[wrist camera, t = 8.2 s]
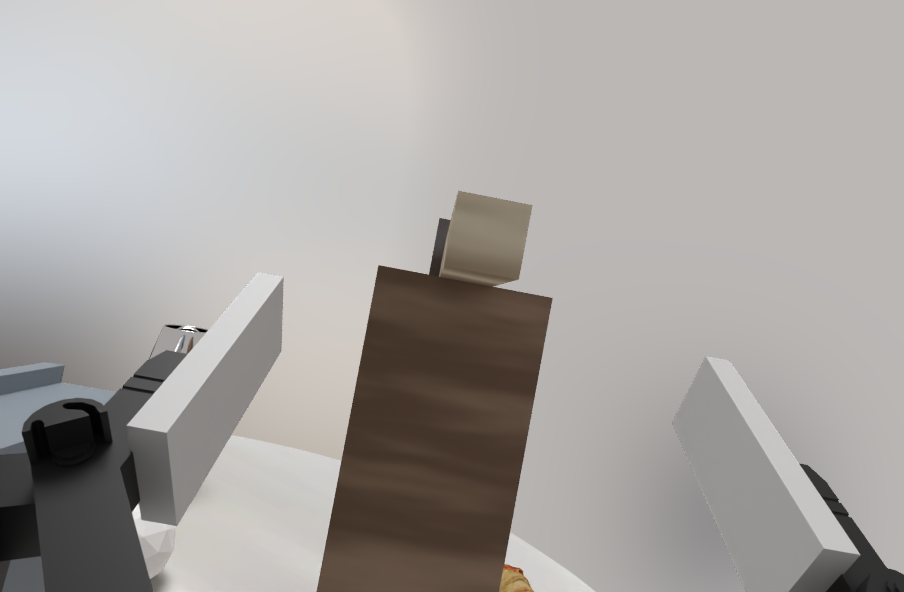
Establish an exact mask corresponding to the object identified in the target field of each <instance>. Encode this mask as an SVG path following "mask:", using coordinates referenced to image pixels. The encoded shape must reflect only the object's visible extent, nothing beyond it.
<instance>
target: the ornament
mask: <svg viewBox="0 0 904 592" xmlns="http://www.w3.org/2000/svg"><path fill="white" fill-rule="evenodd" d="M132 515H133V519H134V522H135V526H136V530H137V534H138V537H139V541H140V545H141V548H142V552H143V556H144V560H145V563H146V567H147V571H148V574H149V578H150V579H151V578H153V577H154V576H156V575H157V574H158V573H160V572H161V571H162V570H163V569H164V567H165V565H166V563H167V561H168V559H169V557H170V555H171V553H172V552H173V550H174V543H175V533H176V528H175V526H173V525H167V524H162V523H156V522H150V521H144V520H141V514H140V508H139V504H137V506H136V507H135V509H134V510H133V512H132Z"/></svg>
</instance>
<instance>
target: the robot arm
mask: <svg viewBox="0 0 904 592" xmlns="http://www.w3.org/2000/svg"><path fill="white" fill-rule="evenodd" d="M282 308H283V277H281V276H276V275H271V274H265V273H260V272H258V273H257V274H256V275H255V276H254V278H253V279H252V280H251V281H250V282H249V283H248V285H247V286H246V287H245V288H244V289H243V290H242V292H241V293H240V294H239V295H238V296H237V297H236V299H235V300H234V301H233V302H232V303H231V304H230V306H229V307H228V308H227V309H226V310H225V311H224V313H223V314H222V315H221V316H220V317H219V319H217V321H216V322H215V323H214V324H213V325H212V327H211V328H210V329H209V330H208V331H207V332H206V333H205V335H204V336H203V337H202V338H201V339H200V340H199V342H198V343H197V344H196V345H195V346H194V347H193V349H192V350H191V351H190V352H189V353H188V354H186V353H180V352H175V351H169V350H166V351H164V352H162V353H160V354H158V355H156V356H155V357H153V358H151V359H149V360H147V361H146V362H145V363H144V364H143V365H142V366H141V367H140V369H138V371H136V372H135V374H134V376H133V377H131V378H130V379H129V380H128V381H127V382H126V383H125V384H124V385H123V388H122V389H119V390H118V391H117V392H116V393H115V394H114V395H113V397H112V398H111V399H110V400H109V401H108V402H107V403H106V404H105V405H103V404H102V403H100V402H97V401H95V400H93V399H86V398H72V399H64V400H60V401H57V402H54V403H51V404H48V405H46V406H44V407H42V408H41V409H39V410H37V411H36V412H34V413H32V415H31V416H30V417H29V418H28V419H27V420H26V421H25V422H24V424H23V428H22V432H21V433H22V437H23V440H24V444H25V447H26V450H27V453H18V454H5V455H0V592H2V589H3V586H4V582H5V579H6V575H7V572H8V568H9V565H10V561H11V560H16V559H24V558H32V557H40V556H41V560H42V569H43V577H44V586H45V592H153V589H152V586H151V582H150V578H149V574H148V571H147V567H146V563H145V560H144V556H143V552H142V548H141V545H140V541H139V537H138V534H137V530H136V526H135V522H134V519H133V515H132V512H133V510H134V509H135V507H136V506H137V504H138V503H139V508H140V514H141V520H144V521H150V522H156V523H162V524H167V525H173V526H177V525H178V523H179V522H180V520H181V518H182V517H183V515H184V513H185V512H186V510H187V508H188V507H189V505H190V503H191V502H192V500H193V498H194V497H195V495H196V493H197V492H198V490H199V488H200V487H201V485H202V483H203V481H204V480H205V478H206V476H207V475H208V473H209V471H210V470H211V468H212V466H213V465H214V463H215V461H216V460H217V458H218V456H219V455H220V453H221V451H222V450H223V448H224V446H225V445H226V443H227V441H228V440H229V438H230V436H231V435H232V433H233V431H234V430H235V428H236V426H237V424H238V423H239V421H240V419H241V418H242V416H243V414H244V413H245V411H246V409H247V408H248V406H249V404H250V403H251V401H252V399H253V397H254V396H255V394H256V393H257V391H258V389H259V387H260V386H261V384H262V383H263V381H264V379H265V377H266V376H267V374H268V372H269V371H270V369H271V367H272V366H273V364H274V362H275V361H276V359H277V357H278V356H279V354H280V352H281V343H282V310H283V309H282ZM672 424H673V426H674V429H675V430H676V433H677V435H678V438H679V440H680V442H681V444H682V447H683V449H684V451H685V453H686V456H687V458H688V461H689V463H690V465H691V467H692V469H693V472H694V474H695V477H696V479H697V481H698V483H699V486H700V488H701V490H702V492H703V494H704V497H705V499H706V502H707V504H708V506H709V509H710V511H711V513H712V515H713V518H714V520H715V522H716V524H717V527H718V529H719V531H720V534H721V536H722V538H723V540H724V542H725V545H726V547H727V550H728V552H729V554H730V556H731V559H732V561H733V563H734V566H735V568H736V570H737V572H738V575H739V577H740V579H741V582H742V584H743V586H744V588H745V591H746V592H904V575H903V574H901V573H899V572H897V571H895V570H892V569H888V568H887V567H886V566H885V565H884V564H883V562H882V560H881V559H880V558H879V556H878V555H877V553H876V552H875V550H874V549H873V548H872V546H871V545H870V543H869V542H868V541H867V539H866V538H865V536H864V535H863V533H862V532H861V531H860V529H859V528H858V527H857V525H856V524H855V523H854V521H853V519H852V518H850V517H848V515H849V514H848V512H847V511H846V509H845V508H844V507H843V505H842V504H841V503H839V502H838V500H839V499H838V498H837V497H836V495H835V494H834V492H833V491H832V490H831V488H830V487H829V485H828V484H827V482H826V481H825V480H823V479H822V478H821V477H820V476H819V475H818V474H817V473H816V472H815V471H814V470H812V469H811V468H810V467H809V466H808V465H804V464H799V463H798V462H797V460H796V459H795V457H794V456H793V454H792V453H791V451H790V450H789V448H788V447H787V445H786V444H785V442H784V441H783V439H782V438H781V436H780V435H779V433H778V432H777V431H776V429H775V427H774V426H773V425H772V423H771V422H770V420H769V418H768V417H767V416H766V414H765V413H764V411H763V410H762V408H761V407H760V405H759V404H758V402H757V401H756V399H755V398H754V396H753V395H752V393H751V392H750V390H749V389H748V387H747V386H746V385H745V383H744V381H743V380H742V378H741V377H740V376H739V374H738V373H737V371H736V370H735V368H734V367H733V365H732V364H731V362H730V361H729V360H723V359H718V358H713V357H707V356H705V358H704V360H703V362H702V364H701V366H700V368H699V370H698V372H697V374H696V376H695V378H694V380H693V382H692V384H691V386H690V388H689V390H688V392H687V393H686V395H685V398H684V399H683V401H682V403H681V405H680V407H679V410H678V411H677V413H676V415H675V417H674V419H673V421H672Z"/></svg>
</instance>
